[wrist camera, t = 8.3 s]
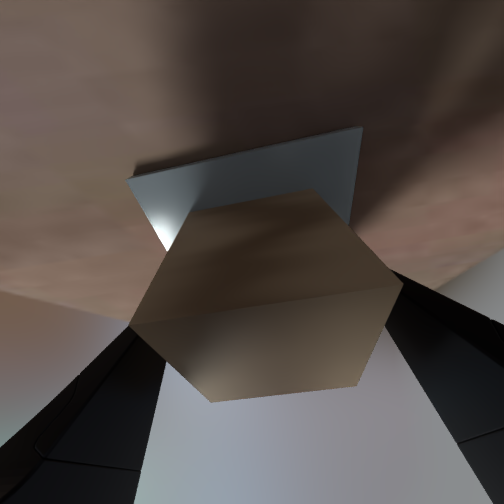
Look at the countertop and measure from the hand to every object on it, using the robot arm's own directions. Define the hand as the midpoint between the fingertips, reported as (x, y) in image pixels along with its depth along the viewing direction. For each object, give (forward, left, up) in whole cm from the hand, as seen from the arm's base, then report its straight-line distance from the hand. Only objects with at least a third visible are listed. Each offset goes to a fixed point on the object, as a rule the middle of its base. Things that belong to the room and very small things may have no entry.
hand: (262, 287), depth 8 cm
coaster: (0, 0, -3) cm, 3 cm away
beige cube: (0, 0, -3) cm, 3 cm away
